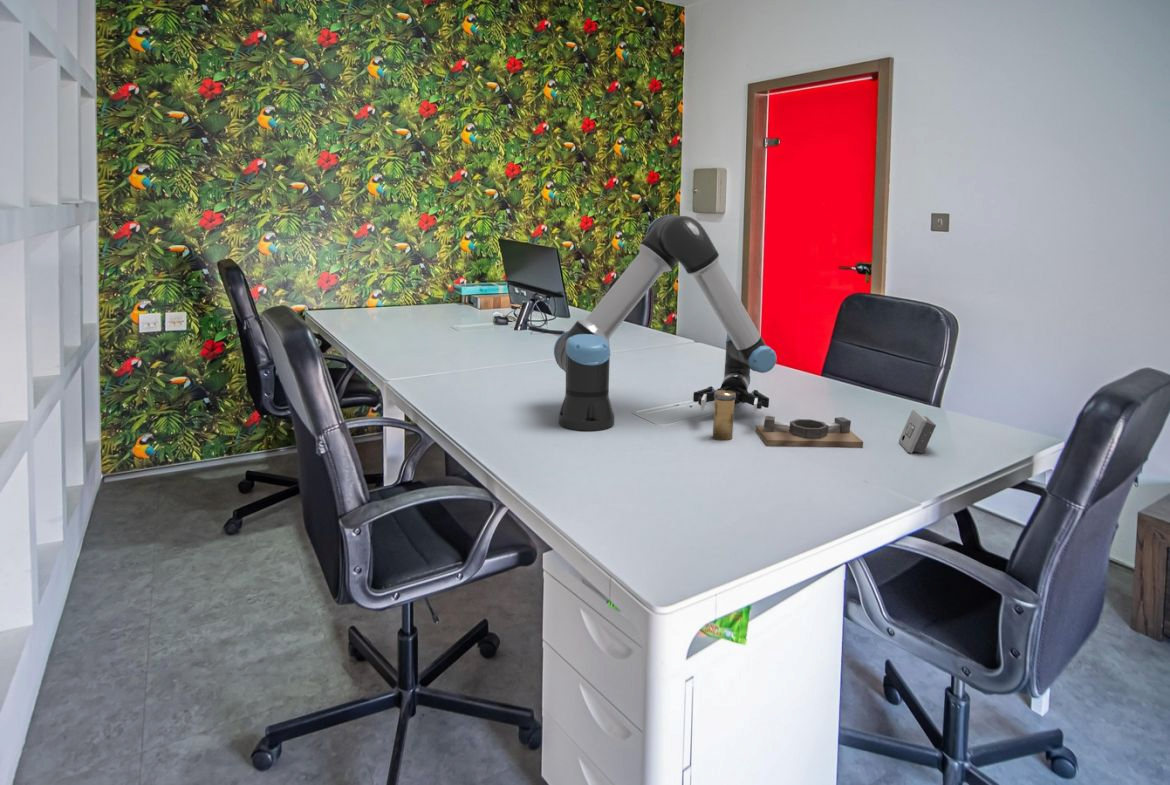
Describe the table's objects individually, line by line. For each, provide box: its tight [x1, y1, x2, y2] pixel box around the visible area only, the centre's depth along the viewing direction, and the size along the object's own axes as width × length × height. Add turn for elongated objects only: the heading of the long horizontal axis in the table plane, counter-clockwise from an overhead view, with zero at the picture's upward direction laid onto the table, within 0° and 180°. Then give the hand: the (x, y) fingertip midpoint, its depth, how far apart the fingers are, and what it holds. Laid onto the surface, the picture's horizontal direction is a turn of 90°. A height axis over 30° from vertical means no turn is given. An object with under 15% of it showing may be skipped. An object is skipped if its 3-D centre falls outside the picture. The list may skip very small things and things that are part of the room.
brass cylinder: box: [712, 390, 736, 441], centre depth 198 cm, size 5×5×12 cm
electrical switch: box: [898, 409, 937, 455], centre depth 192 cm, size 9×5×9 cm, turn 173°
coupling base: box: [755, 415, 864, 449], centre depth 199 cm, size 24×13×5 cm, turn 90°
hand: (728, 406), depth 203 cm, fingers open, 13 cm apart
